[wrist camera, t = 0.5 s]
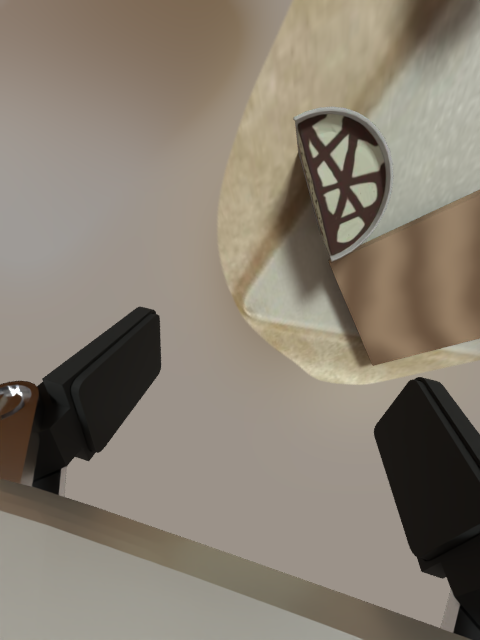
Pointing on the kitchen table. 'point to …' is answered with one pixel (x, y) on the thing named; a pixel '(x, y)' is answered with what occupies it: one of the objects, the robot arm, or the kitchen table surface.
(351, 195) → the food container
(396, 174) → the kitchen table surface
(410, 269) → the tan square plate
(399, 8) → the kitchen table surface
